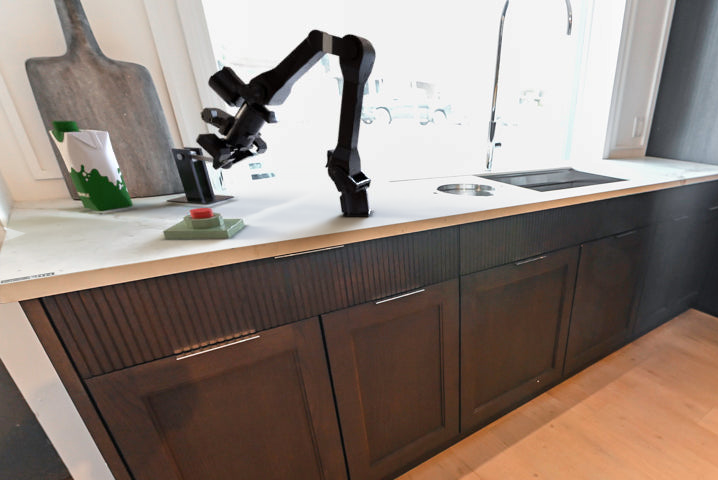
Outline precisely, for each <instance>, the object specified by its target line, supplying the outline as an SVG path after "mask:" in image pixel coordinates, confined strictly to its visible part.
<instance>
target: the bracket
mask: <svg viewBox="0 0 718 480" xmlns="http://www.w3.org/2000/svg"><path fill="white" fill-rule="evenodd" d="M190 150H191V151H196V155H201V156H204V153H203V148H202V147H191V146H183V148H175V147H174V148H171V153H172V156H173V160H174V163H175V166H176V170H177V172H178V175H179V178H180V182H181V185H182V188H183V192H184V195H183V196H179V197H174V198H170V199H166V202H167V203H179V204H180V203H181V204H191V205H192V204H193V205H207V206H208V205H213V204H216V203H219V202H223V201H227V200H230V199H233V198H235V196H234V195H223V194H215V192H214V188H213V186H212V185H213V184H212V182H211V178H210V175H209V170H208V166H207V163H206V161H202V160H198V161H194V162H193V160H192V156H191V153H190Z"/></svg>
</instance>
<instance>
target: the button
mask: <svg viewBox="0 0 718 480" xmlns="http://www.w3.org/2000/svg"><path fill="white" fill-rule="evenodd" d="M213 213H214V212H213V209H212V208H210V207H198V208H193V209H190V210H189V215H191V217H192V219H205V218H211V217H214V215H213Z"/></svg>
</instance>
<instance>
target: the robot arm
mask: <svg viewBox="0 0 718 480" xmlns="http://www.w3.org/2000/svg"><path fill="white" fill-rule="evenodd" d="M376 53H377V51H376V49H375V47H374V46H373V43H372V42H371V41H370V40H368V39H367V38H365V37H362V36H359V35H355V34H353V33H352V34H351V33H348V34H345V35H344V36H342V37H341V36H337V35H334V34H329V33H328V32H326V31H324V30H320V29H312V30H310V31H309V32H308V34H307V36H306V37H305V38H304V39H303V40H302V41H301V42H300V43H299V44H298V45H297V46H296V47H295V48H294V49H293V50H291V52H289V53H288V54H287V55H286V56H285V58H283V59H282V60H281V61H280V62H279V63H278V64H277V65H276V66H275V67H273V68H271V69H269V70H265V71H263V72H261V73H259V74H257V75H256V76H254V77H252V78H251V79H249V81H248V83H245V82H244V81H243V79H242V78H241V77H239V76H238V75H237V73H236V72H235V70H234V69H233V68H232V67H230V66H223V67H222V68H221V69H220V70H218V71H215V73H213V75H210V77H209V78H208V81H207V84H208V87H209V88H210V89H211V90H212V91H214V93H216V95H218V97H220V99H222V101H224V102H225V104H227V105H228V106H229V107H230V108H234V107H235V108H239V109H238V110H237V112H236V113H235V115H232V114H230V113H228V112H227V111H225V110H223V109H221V108H218V107H204V108H202V111H200V118H201V120H202V121H203V122H204V123H206V124H209V125H211V126H213V127H215V128H217V129H218V131H217V132H218V133H219V134H220V136H223V137H219V136H218V135H217V134H216V133H214V132H209V133H208V132H207V133H199V134H198V136H197V137H196V139H195V143H197V144H198V145H199V147H200V148H201V149H202V150H204V151H205V152H206V153H207V154H208V155H210V157H213V162H212V168H213V169H214V170H215V171H217V170H219V169H222V168H221V167H223V166H224V165H226V164H227V163H229V162H231V161H232V162H233V165H232V166H234V165H236V164H239V163H240V162H243V161H245V160H247V159H250V158H253V157H254V156H255V154H254V153H253V152H252V150H253V149H254V146H255V147H256V148H257V149H256V150H255V153H256V154H257V155H262V154H265V153H266V151H267V150H268V145H267V142H266V141H265V140H264V139H263V138H261V137H262V133H261V132H260V131H261V129H263V127H264V125H265V124H268V125H269V124H270V125H271V124H278V118H277V115H276V111H275V110H269V108H268V106H269V107H270V106H271V107H272V106H273V107H274V106H275V107H276V106H277V107H278V106H281V105H283V104H284V103H285V102H286V101H287V99H288V97H289V96H290V94H291V92H292V89H293V86H294V84H296V82H298V81H299V79H301V78H302V77H303V76H304V75H305V74H306V73H307V72H308V71H309V70H310V69H311V68H313V67H314V66H315V65H316V64H317V63H318V62H320V60H322V59H323V58H324V56H326V55H327V54H330V55H333V56H335V57H338V65H339V68H340V72H341V75H342V90H341V101H340V102H341V103H340V110H339V111H340V112H339V122H338V131H337V132H338V133H337V141H336V142H337V143H336V146H335V148H333V149H328V150H327V152H326V163H325V166H324V167H325V169H327V175H328V177H329V178H330V180H331V181H332V182H333V183H334V185H335V188H336V190H337V192H338V193H340V195H339V203H340V204H339V205H340V211H341V213H342V217H370V215H371V212H372V209H371V208H370V200H369V190H368V188H369V189H370V187H371V182H372V180H371V177H369V176H368V175H367V174H366V173H365V172H364V171H363V170H362V163H361V162H362V161H361V157H360V153H359V148H358V146H359V145H358V144H359V137H360V136H359V135H360V129H361V119H362V111H363V103H364V96H365V95H364V94H365V86H366V83H367V82H368V80H369V77H370V76H371V75H372V72H373V68H374V65H375V61H376V56H377V55H376ZM266 106H267V107H266Z"/></svg>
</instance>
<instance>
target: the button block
mask: <svg viewBox="0 0 718 480" xmlns="http://www.w3.org/2000/svg"><path fill="white" fill-rule="evenodd" d="M213 215H214V217H211V218H205V219H192V217H191V214H187V215H185V216H183V217H182V219H183V220H181V221H179V222H177V223H175V224H173V225H172V226H170V227H168V228H166V229H165V230H163V231H162V234H163V236H164V239H165V240H195V239H196V240H198V239H199V240H200V239H201V240H205V239H206V240H208V239H211V240H212V239H230V238H231V237H233V236H234V235H235V234H236V233H238V232H239V231H240V230H242V229H243V228H244V227H245V225H246V224H245V222H244V218H223V217H224V216H223V215H222V214H221V213H218V212H213Z"/></svg>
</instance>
